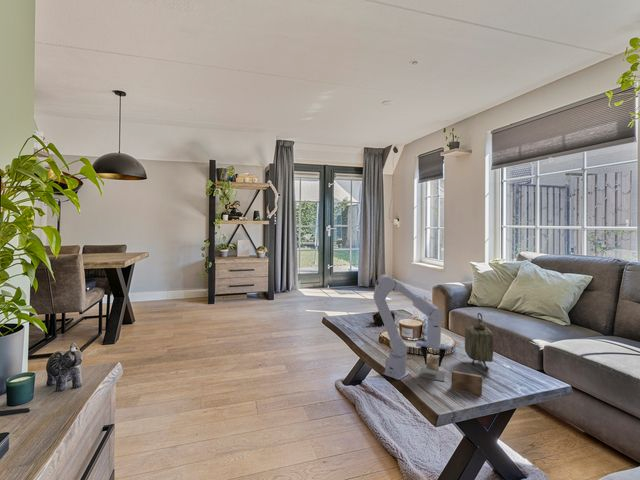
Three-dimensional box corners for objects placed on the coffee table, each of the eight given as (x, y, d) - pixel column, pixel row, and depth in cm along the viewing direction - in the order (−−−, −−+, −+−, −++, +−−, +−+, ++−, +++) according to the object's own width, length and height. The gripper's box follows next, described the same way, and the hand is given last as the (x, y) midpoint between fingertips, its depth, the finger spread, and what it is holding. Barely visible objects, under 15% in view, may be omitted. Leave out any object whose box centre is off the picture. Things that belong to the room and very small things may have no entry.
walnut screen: (451, 389, 131) (451, 371, 131) (451, 387, 132) (451, 370, 132) (481, 395, 127) (482, 377, 126) (481, 393, 128) (482, 375, 128)
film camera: (382, 320, 231) (382, 306, 230) (397, 324, 221) (397, 309, 221) (365, 324, 219) (366, 309, 219) (380, 329, 210) (380, 313, 209)
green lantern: (492, 372, 147) (494, 317, 146) (471, 370, 149) (472, 316, 148) (483, 360, 162) (485, 310, 161) (463, 358, 163) (465, 308, 162)
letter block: (426, 369, 142) (426, 357, 142) (427, 364, 147) (427, 353, 147) (438, 371, 140) (438, 359, 140) (439, 366, 145) (439, 355, 145)
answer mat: (419, 377, 141) (419, 376, 141) (421, 368, 150) (421, 367, 150) (444, 382, 137) (444, 381, 137) (445, 372, 146) (445, 371, 146)
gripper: (415, 334, 142) (414, 365, 143) (451, 339, 137) (450, 371, 137) (417, 330, 149) (416, 359, 149) (451, 334, 143) (450, 365, 143)
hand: (432, 364), depth 144 cm, fingers closed on letter block, 5 cm apart
